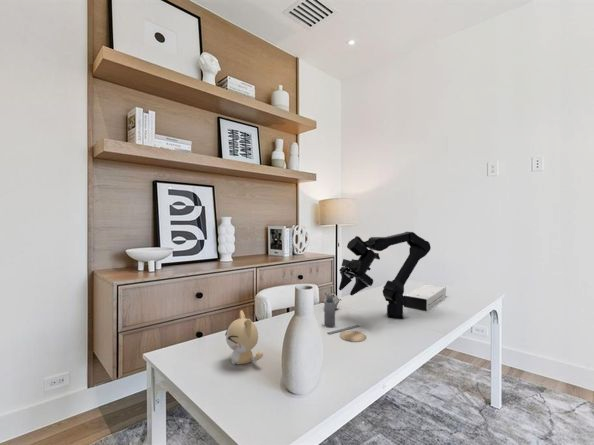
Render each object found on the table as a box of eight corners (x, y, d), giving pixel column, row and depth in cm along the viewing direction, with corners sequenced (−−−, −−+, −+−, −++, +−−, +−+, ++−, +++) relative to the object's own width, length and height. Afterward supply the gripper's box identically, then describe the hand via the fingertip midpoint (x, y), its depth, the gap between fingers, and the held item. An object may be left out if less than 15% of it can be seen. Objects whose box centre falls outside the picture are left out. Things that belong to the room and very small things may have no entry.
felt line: (357, 325, 132) (357, 324, 132) (359, 326, 131) (359, 325, 131) (327, 333, 124) (327, 332, 124) (329, 334, 122) (329, 333, 122)
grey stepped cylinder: (335, 324, 134) (335, 293, 133) (333, 327, 130) (334, 296, 129) (325, 323, 135) (325, 292, 135) (323, 326, 131) (323, 295, 130)
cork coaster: (367, 333, 124) (367, 332, 124) (365, 343, 114) (365, 342, 114) (341, 330, 127) (341, 329, 127) (337, 340, 117) (337, 338, 117)
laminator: (426, 312, 152) (426, 299, 151) (401, 307, 159) (401, 295, 159) (445, 297, 178) (445, 286, 178) (423, 293, 186) (423, 283, 185)
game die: (334, 317, 154) (340, 304, 148) (318, 310, 155) (323, 297, 149) (338, 304, 161) (344, 291, 155) (323, 297, 162) (328, 284, 156)
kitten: (221, 354, 105) (221, 309, 105) (250, 349, 109) (250, 306, 109) (231, 375, 92) (230, 324, 91) (264, 368, 96) (264, 319, 95)
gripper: (340, 249, 143) (321, 277, 140) (364, 254, 126) (342, 287, 123) (357, 262, 147) (339, 291, 144) (382, 269, 130) (362, 302, 126)
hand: (345, 292), depth 134 cm, fingers open, 9 cm apart
